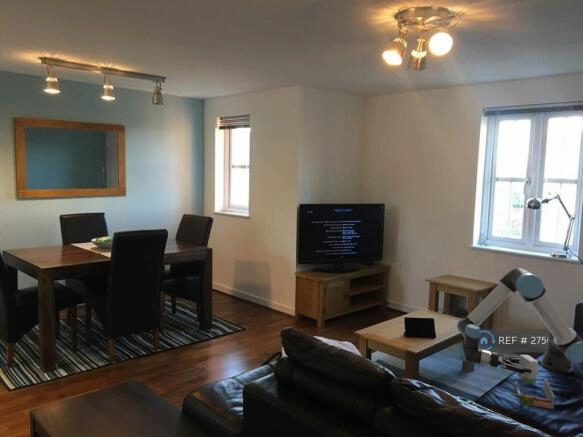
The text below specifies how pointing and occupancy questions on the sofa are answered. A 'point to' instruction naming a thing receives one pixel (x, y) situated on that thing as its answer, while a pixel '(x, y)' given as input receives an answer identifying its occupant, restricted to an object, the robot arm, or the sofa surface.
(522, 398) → the figurine
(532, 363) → the ink box
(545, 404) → the trap channel
